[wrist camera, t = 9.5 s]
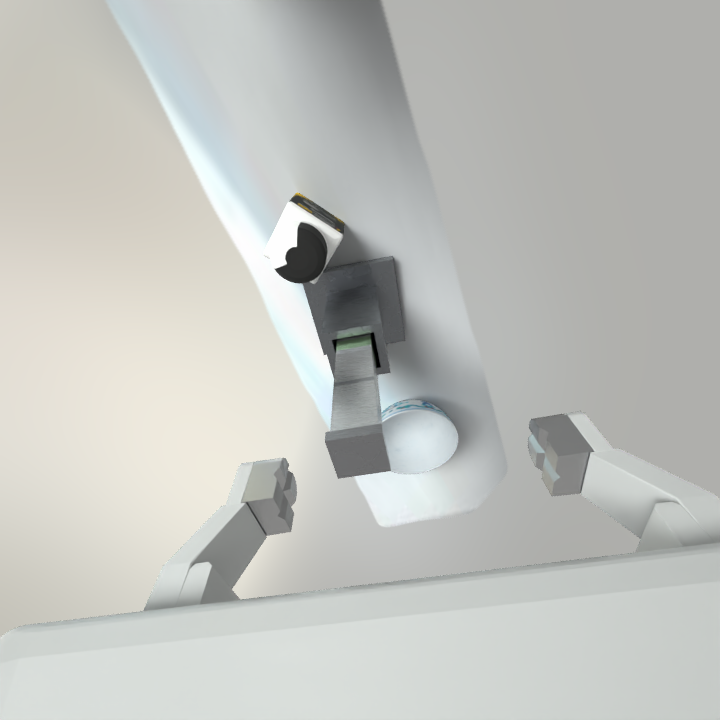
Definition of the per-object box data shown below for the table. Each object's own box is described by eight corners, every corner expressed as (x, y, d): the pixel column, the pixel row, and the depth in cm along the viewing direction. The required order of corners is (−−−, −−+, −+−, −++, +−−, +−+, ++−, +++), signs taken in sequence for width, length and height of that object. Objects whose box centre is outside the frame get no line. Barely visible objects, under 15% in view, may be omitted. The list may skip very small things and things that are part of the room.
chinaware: (445, 374, 61) (456, 403, 54) (450, 436, 69) (460, 467, 63) (359, 388, 62) (360, 418, 56) (374, 447, 70) (376, 479, 64)
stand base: (302, 273, 51) (287, 315, 39) (392, 255, 50) (404, 293, 38) (324, 349, 58) (318, 403, 46) (404, 335, 57) (417, 387, 45)
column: (335, 317, 46) (324, 441, 28) (370, 310, 46) (382, 432, 28) (343, 346, 49) (338, 478, 31) (376, 340, 49) (391, 470, 30)
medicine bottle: (345, 222, 47) (343, 248, 37) (319, 267, 50) (311, 301, 40) (297, 190, 45) (281, 208, 35) (272, 239, 48) (252, 269, 38)
